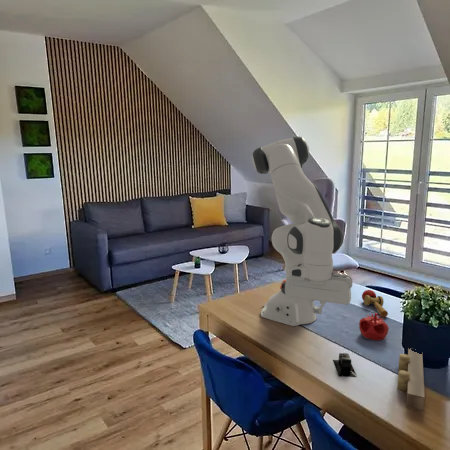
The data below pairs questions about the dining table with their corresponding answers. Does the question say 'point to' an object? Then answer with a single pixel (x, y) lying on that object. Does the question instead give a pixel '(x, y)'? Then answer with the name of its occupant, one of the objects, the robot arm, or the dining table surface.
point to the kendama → (374, 301)
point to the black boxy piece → (344, 366)
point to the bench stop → (412, 379)
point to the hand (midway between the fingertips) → (316, 312)
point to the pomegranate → (373, 327)
